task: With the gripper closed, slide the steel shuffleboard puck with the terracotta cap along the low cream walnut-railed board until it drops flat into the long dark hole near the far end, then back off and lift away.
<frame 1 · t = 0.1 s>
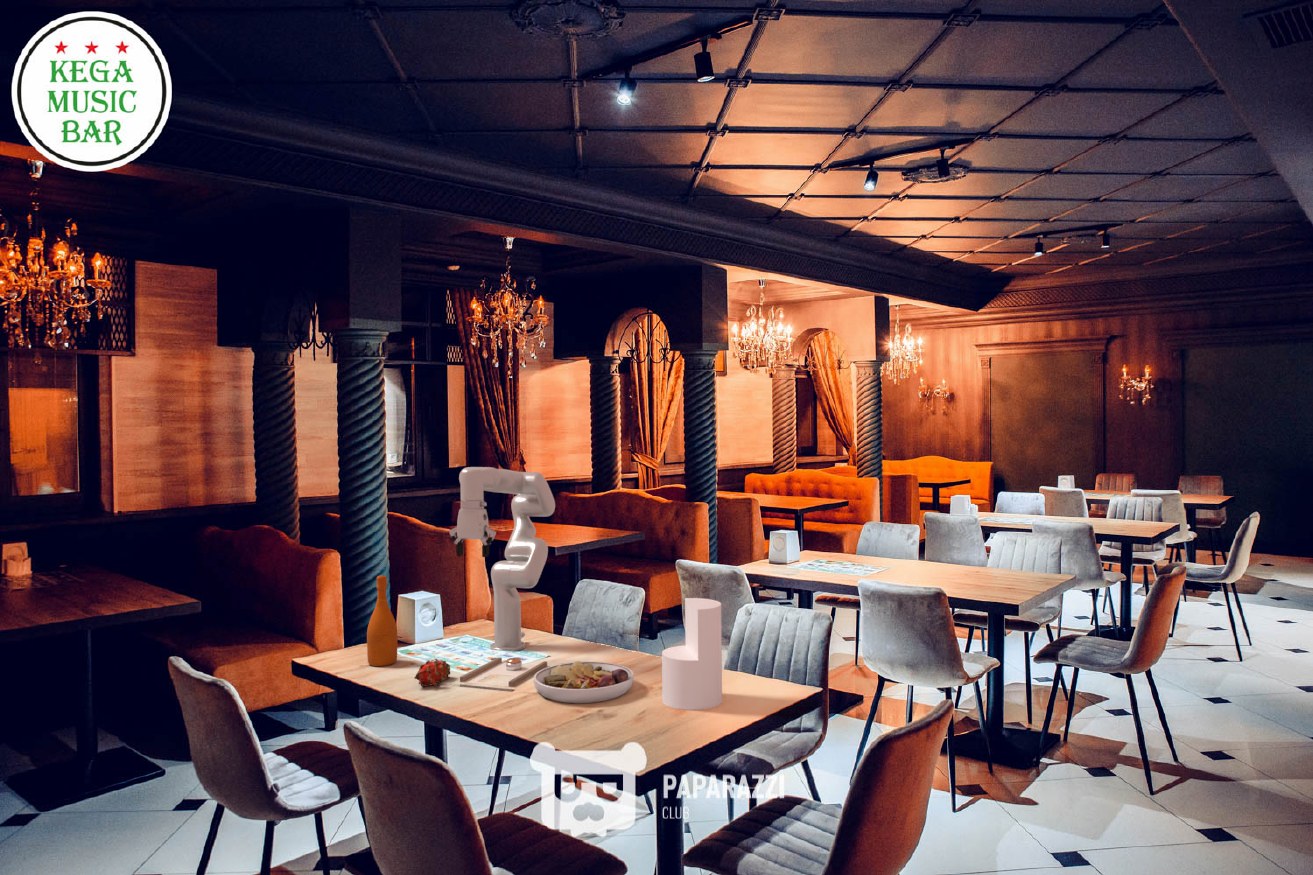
hand: (472, 556, 287), 37 cm above the table, tool pointing down, fingers open, 9 cm apart
dragon fruit: (432, 685, 264), on the table
wine bottle: (382, 663, 290), on the table
board: (505, 678, 271), on the table
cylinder: (692, 700, 247), on the table
puck: (514, 668, 277), point 1 cm above the table, touching board
bowl: (584, 691, 258), on the table
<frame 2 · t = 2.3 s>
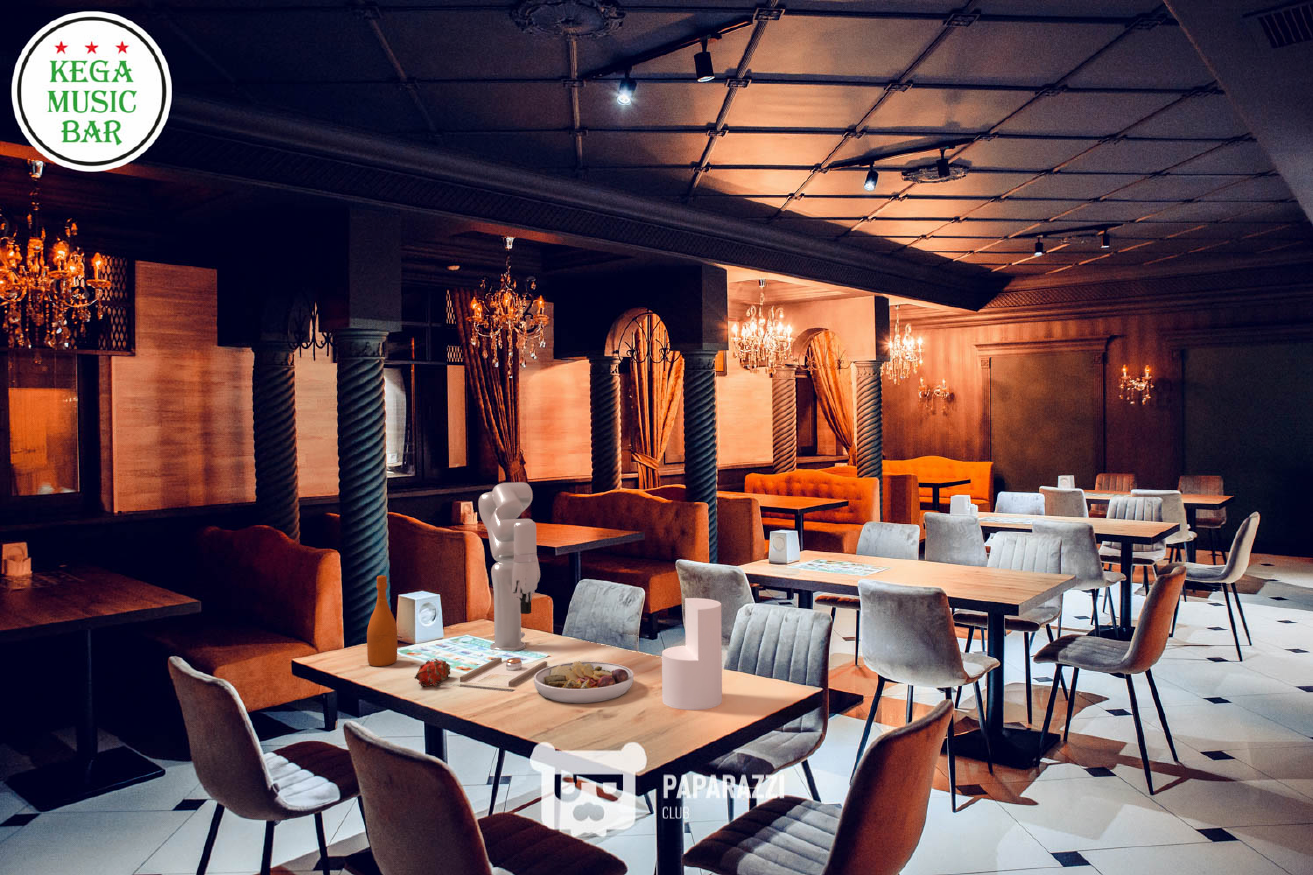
hand: (525, 613, 284), 18 cm above the table, tool pointing down, fingers closed
nothing on the table moved.
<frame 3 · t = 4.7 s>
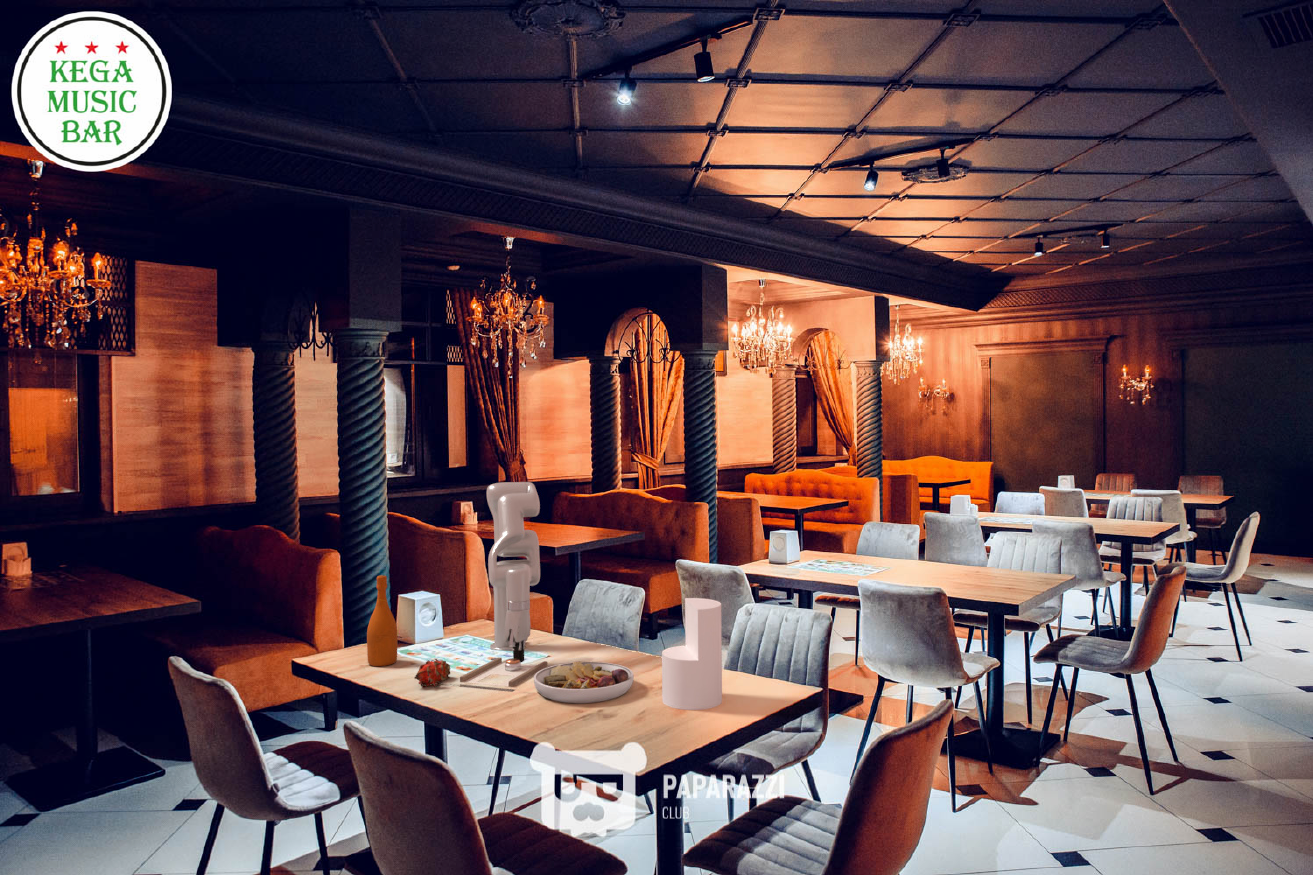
hand: (518, 661, 280), 3 cm above the table, tool pointing down, fingers closed
puck: (512, 669, 276), point 2 cm above the table, touching gripper
everything else where it was.
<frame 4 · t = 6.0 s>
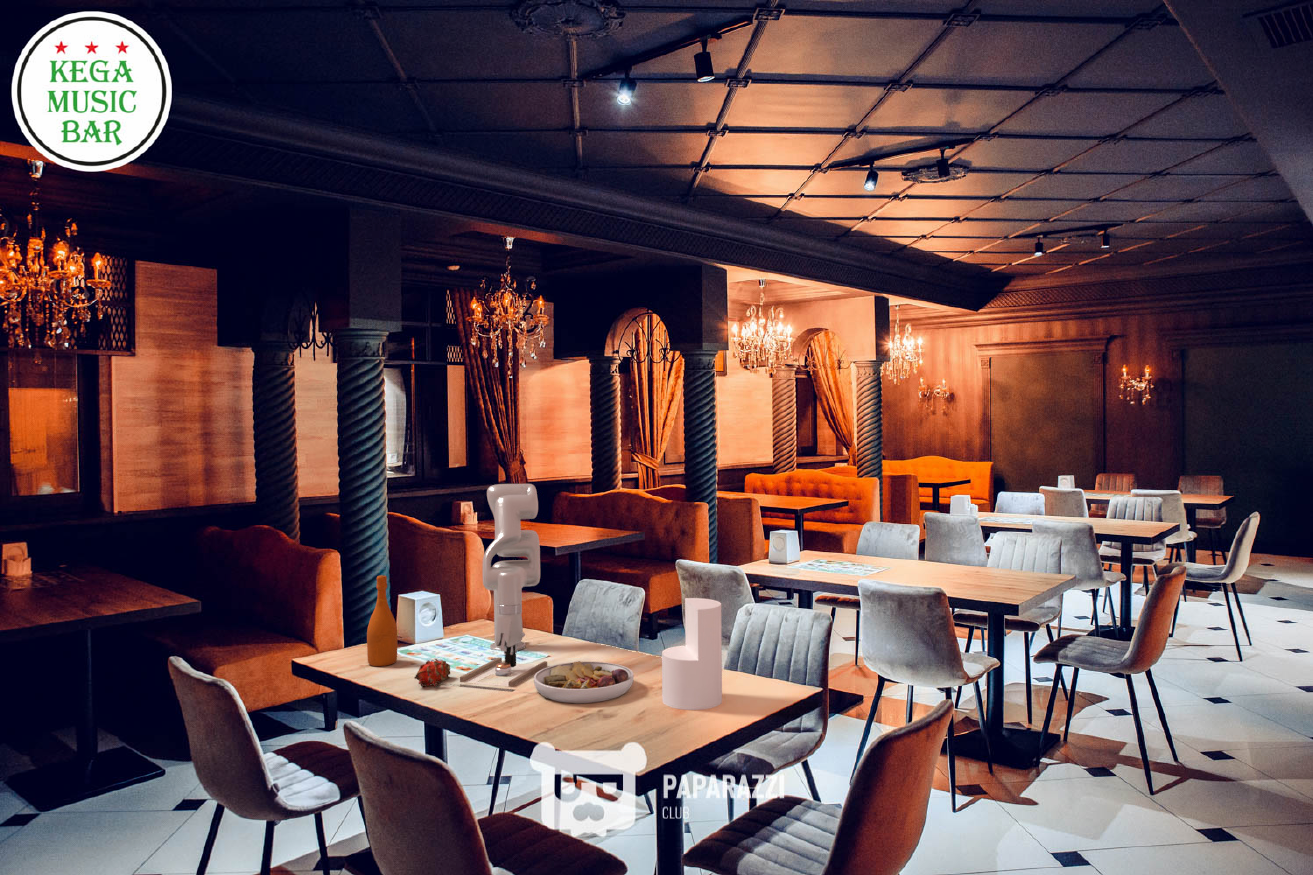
hand: (510, 666, 275), 3 cm above the table, tool pointing down, fingers closed
puck: (503, 673, 271), point 2 cm above the table, touching board, gripper
everything else where it was.
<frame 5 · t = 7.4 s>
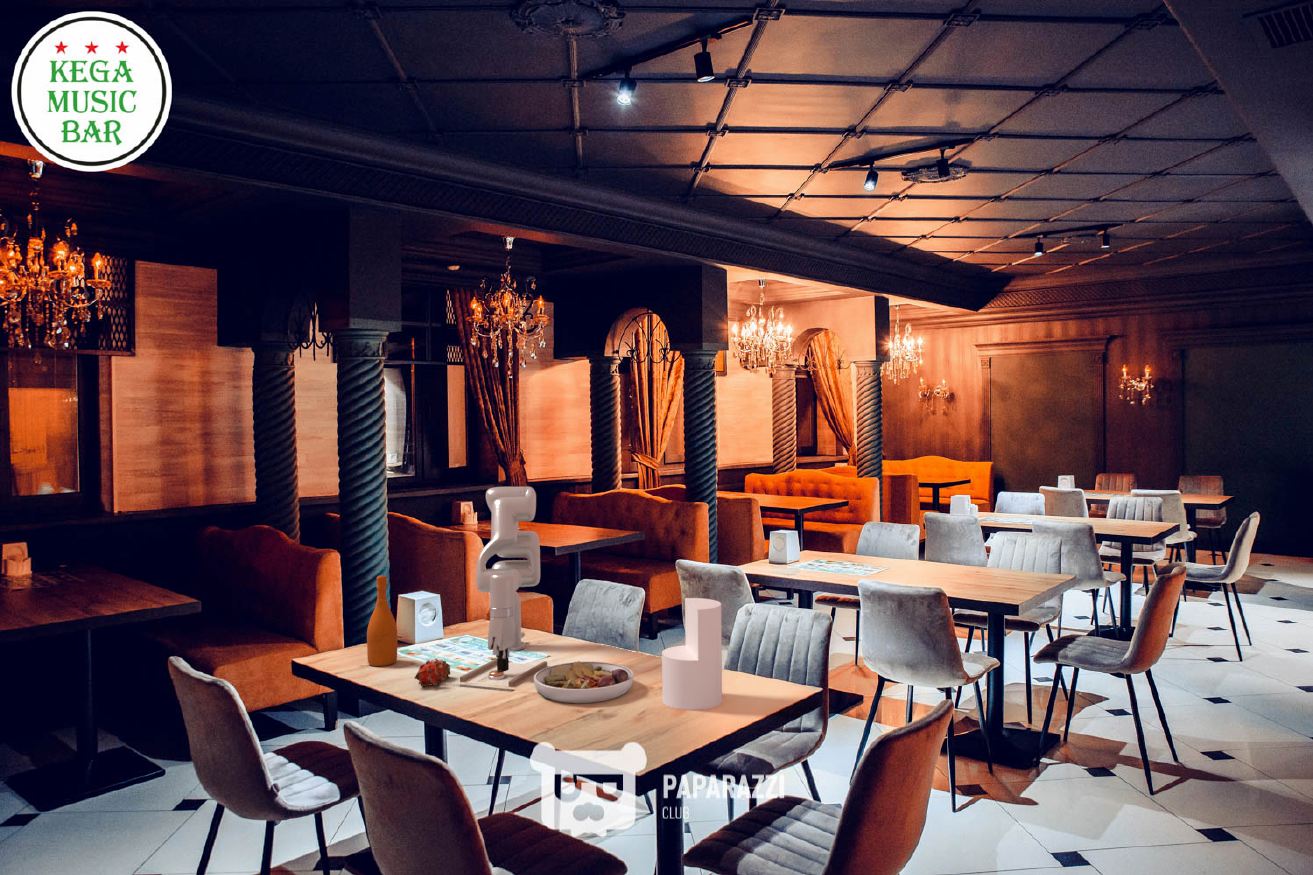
hand: (502, 670, 270), 3 cm above the table, tool pointing down, fingers closed
puck: (496, 681, 267), resting on board, touching gripper
everything else where it was.
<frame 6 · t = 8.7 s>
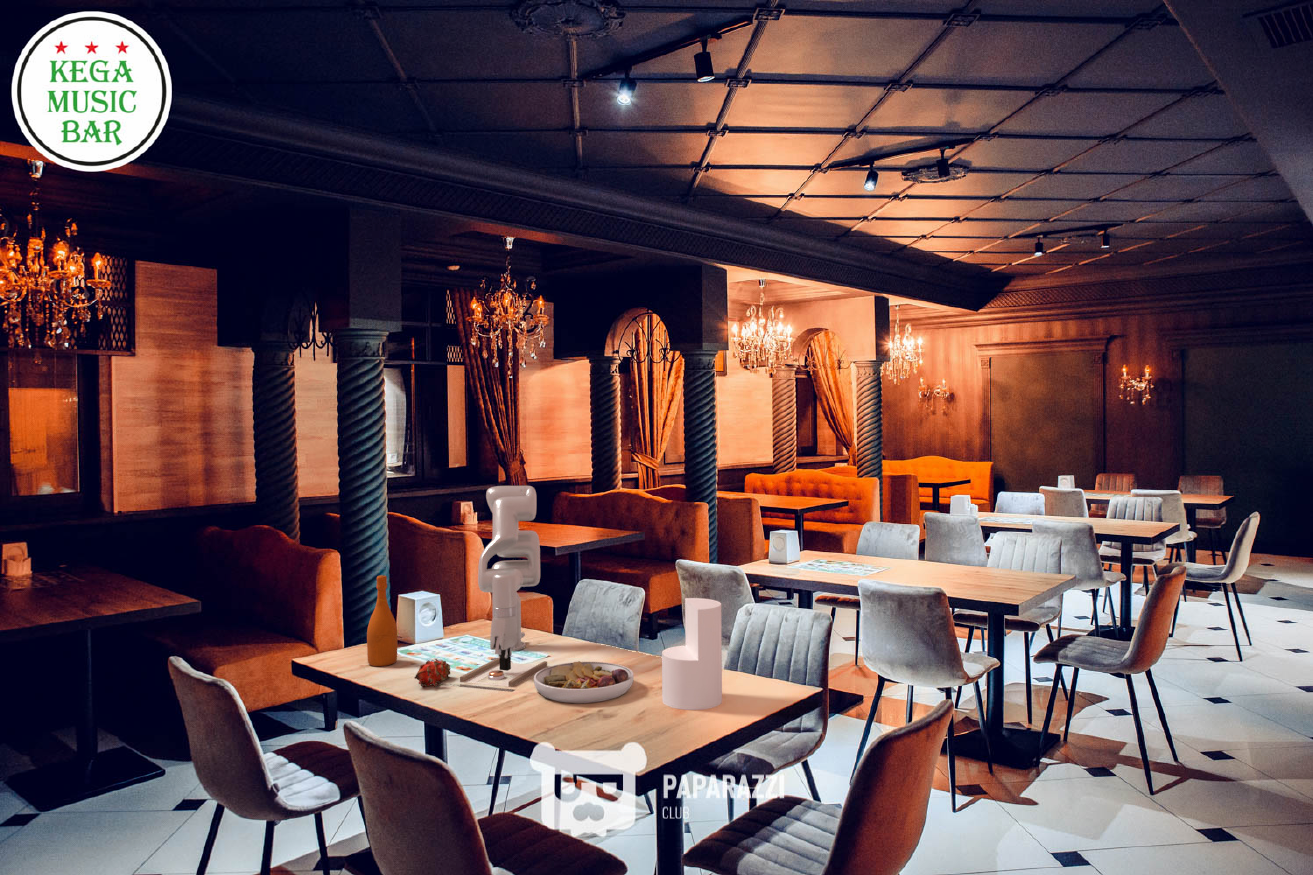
hand: (505, 669, 271), 3 cm above the table, tool pointing down, fingers closed
puck: (496, 681, 267), resting on board
everything else where it was.
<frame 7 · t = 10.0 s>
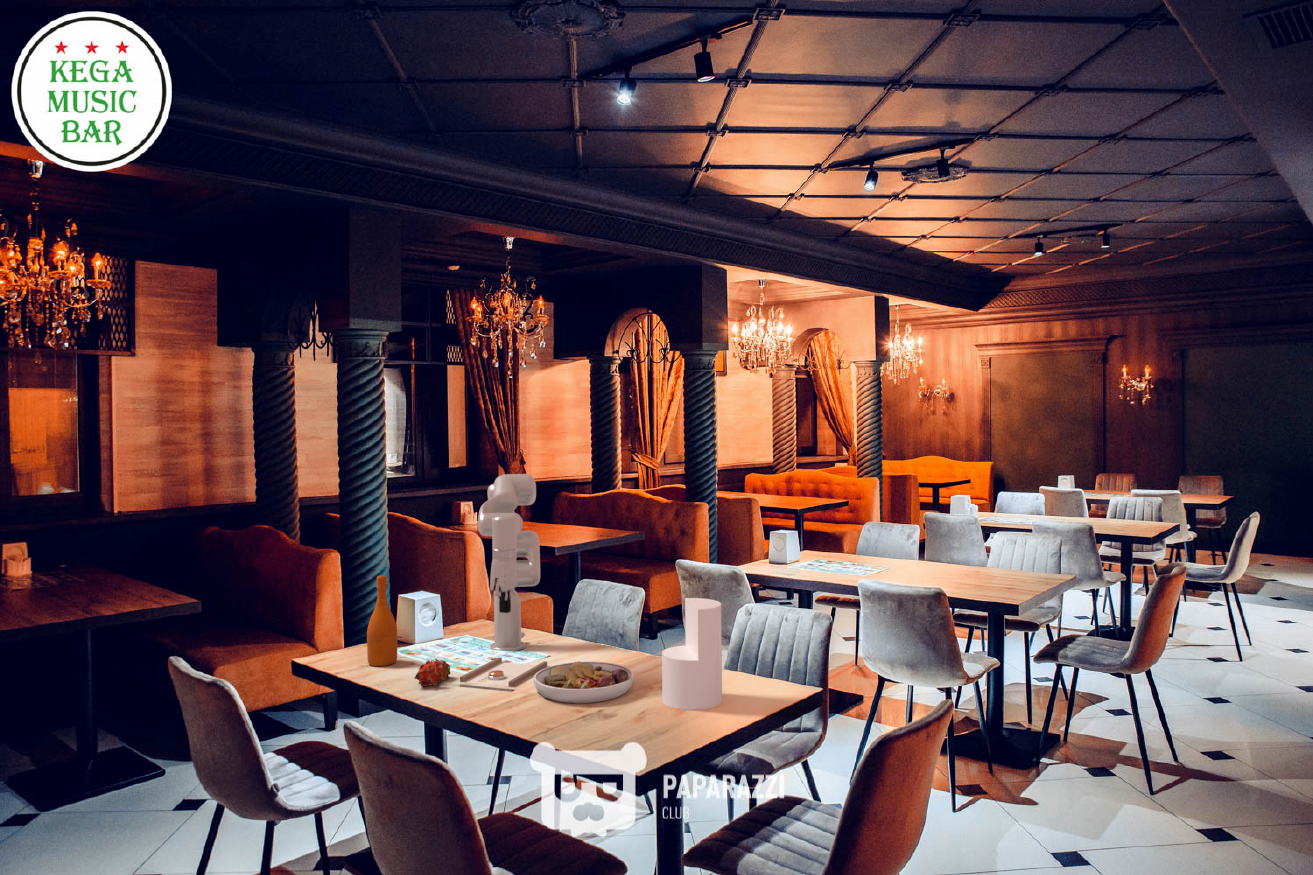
hand: (505, 611, 272), 21 cm above the table, tool pointing down, fingers closed
nothing on the table moved.
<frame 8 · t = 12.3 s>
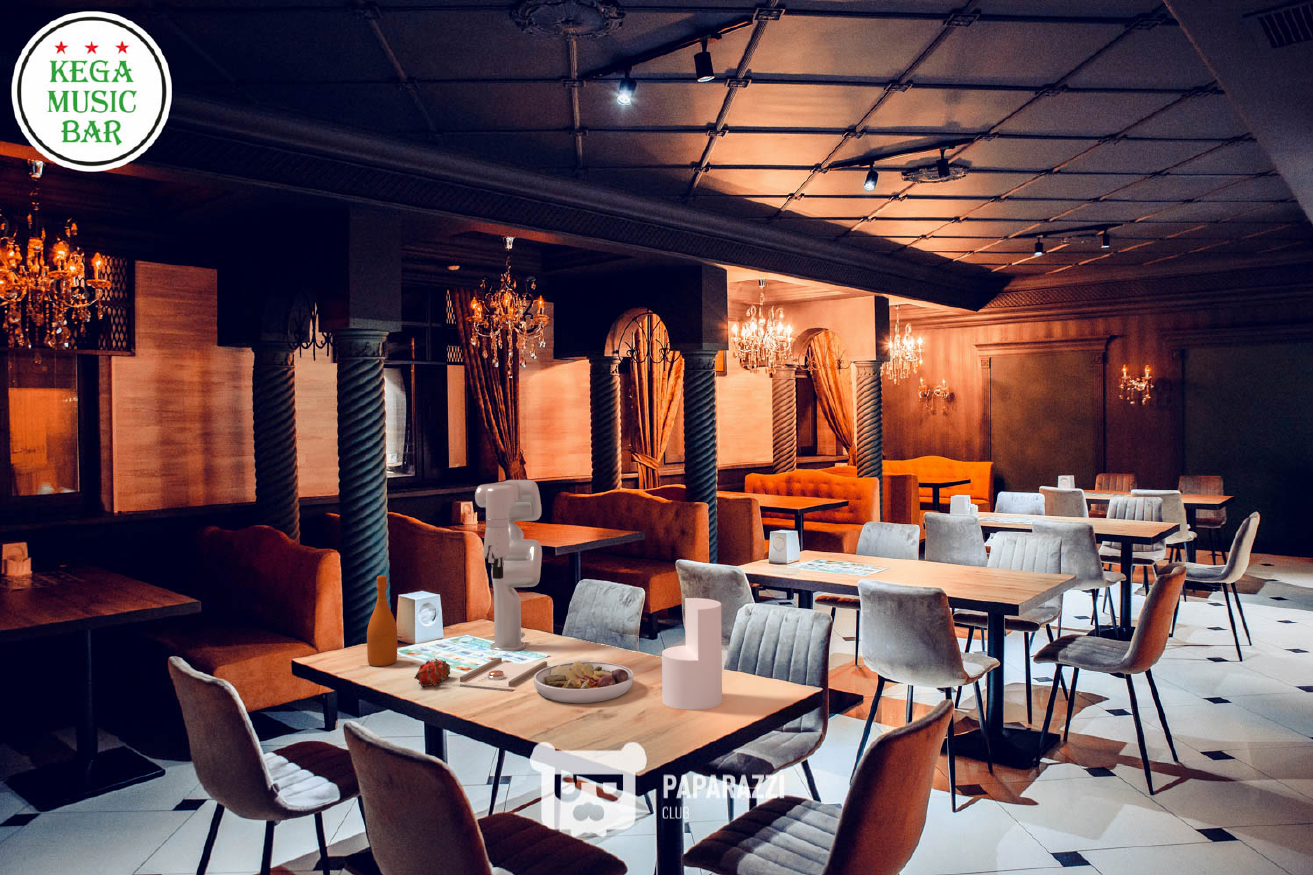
hand: (498, 578, 287), 29 cm above the table, tool pointing down, fingers closed
nothing on the table moved.
at the end: puck inside the target area on the board (1.3 cm from its centre), point 0.2 cm above the board's base; puck moved 10.9 cm from its start; the gripper is holding nothing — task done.
